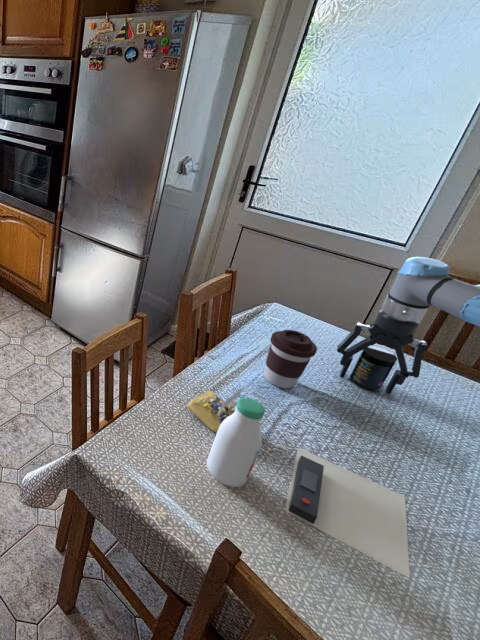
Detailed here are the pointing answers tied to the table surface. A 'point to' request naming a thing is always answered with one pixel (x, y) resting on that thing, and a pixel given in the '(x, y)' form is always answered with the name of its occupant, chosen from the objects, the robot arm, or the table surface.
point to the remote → (306, 489)
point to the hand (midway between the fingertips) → (364, 382)
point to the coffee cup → (288, 357)
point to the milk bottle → (237, 444)
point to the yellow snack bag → (213, 408)
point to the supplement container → (372, 368)
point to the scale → (360, 514)
